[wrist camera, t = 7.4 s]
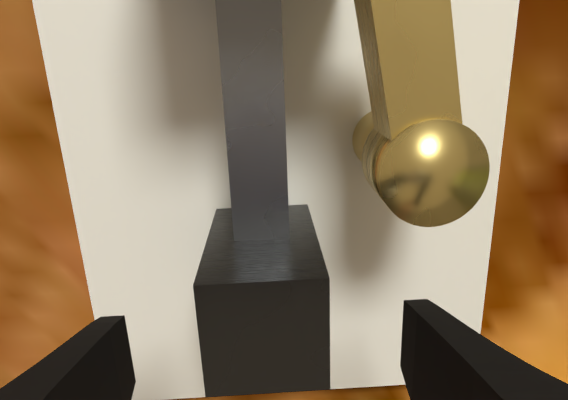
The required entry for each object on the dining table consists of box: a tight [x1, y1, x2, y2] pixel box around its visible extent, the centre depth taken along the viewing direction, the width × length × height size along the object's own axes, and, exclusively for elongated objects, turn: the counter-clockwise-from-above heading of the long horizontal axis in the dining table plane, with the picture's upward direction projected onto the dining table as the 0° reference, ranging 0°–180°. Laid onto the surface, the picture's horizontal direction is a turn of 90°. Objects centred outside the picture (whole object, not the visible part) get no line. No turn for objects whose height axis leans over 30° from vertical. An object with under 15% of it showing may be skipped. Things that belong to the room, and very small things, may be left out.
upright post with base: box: [193, 0, 330, 397], centre depth 12 cm, size 16×3×6 cm, turn 2°
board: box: [32, 0, 519, 400], centre depth 15 cm, size 22×16×4 cm
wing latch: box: [354, 0, 490, 227], centre depth 12 cm, size 3×7×2 cm, turn 13°
